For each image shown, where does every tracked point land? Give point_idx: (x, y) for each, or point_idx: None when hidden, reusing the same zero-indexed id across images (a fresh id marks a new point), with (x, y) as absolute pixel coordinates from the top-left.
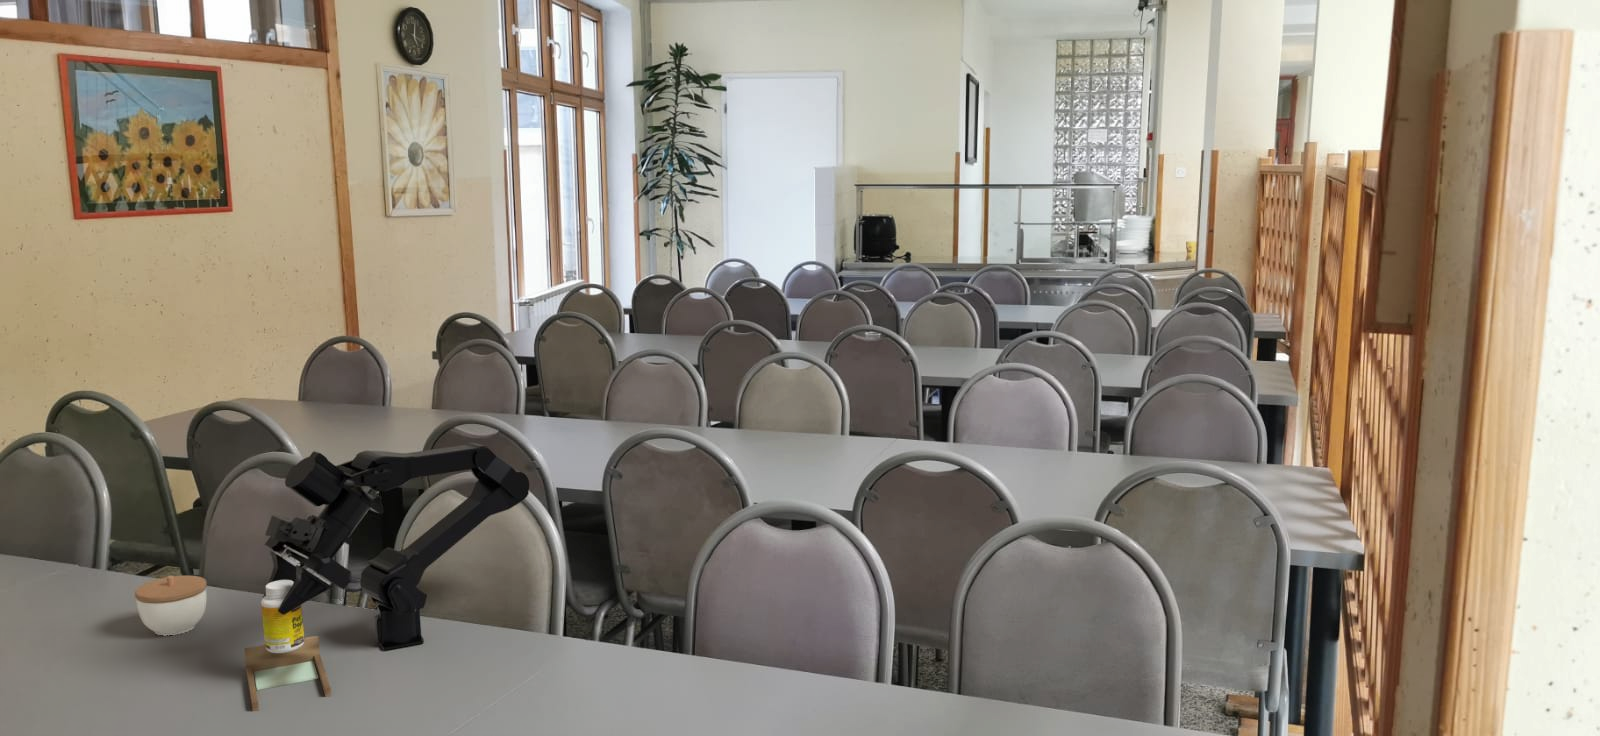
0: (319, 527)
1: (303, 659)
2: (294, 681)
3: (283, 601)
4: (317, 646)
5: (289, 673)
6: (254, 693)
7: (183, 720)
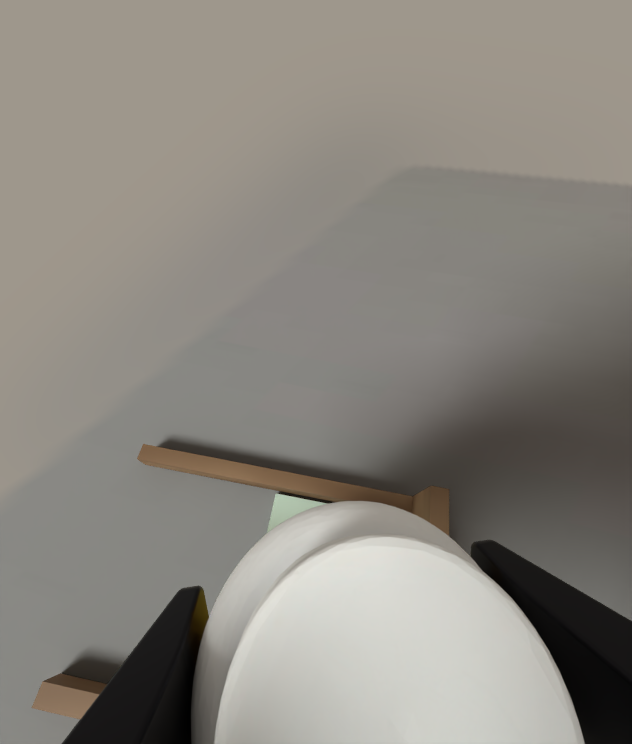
0: None
1: None
2: None
3: (154, 656)
4: None
5: None
6: (201, 465)
7: (227, 327)
